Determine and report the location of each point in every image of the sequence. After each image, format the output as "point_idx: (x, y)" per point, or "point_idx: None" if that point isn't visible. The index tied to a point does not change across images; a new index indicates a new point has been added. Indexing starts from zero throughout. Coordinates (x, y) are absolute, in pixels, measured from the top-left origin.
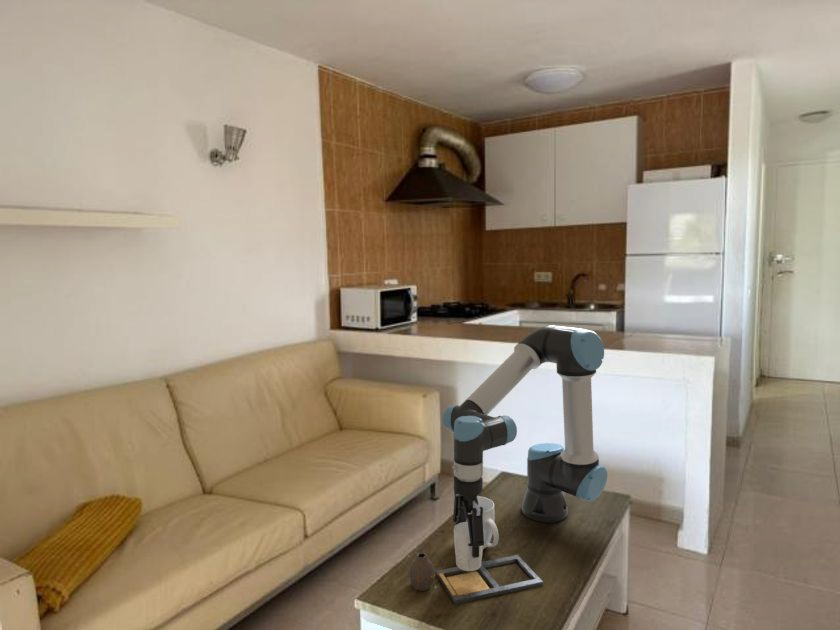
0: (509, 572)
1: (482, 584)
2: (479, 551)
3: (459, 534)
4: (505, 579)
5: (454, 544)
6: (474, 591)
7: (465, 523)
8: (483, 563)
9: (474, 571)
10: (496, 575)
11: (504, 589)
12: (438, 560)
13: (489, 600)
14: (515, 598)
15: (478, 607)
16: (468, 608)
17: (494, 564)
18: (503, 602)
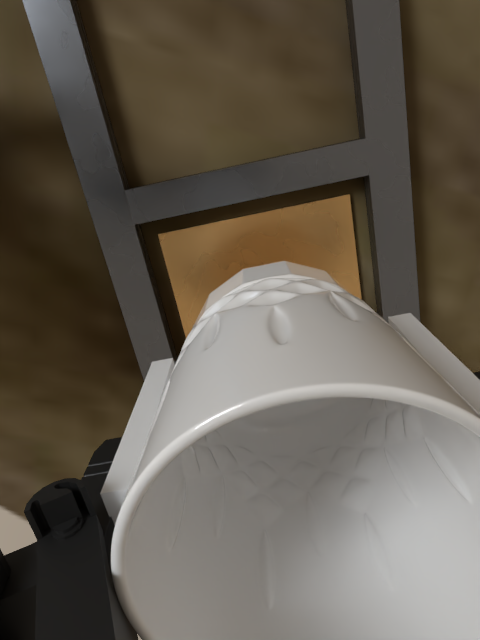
0: (181, 11)
1: (294, 230)
2: (468, 370)
3: None
4: (257, 67)
5: (275, 536)
6: (347, 286)
7: (133, 565)
8: (102, 182)
9: (162, 248)
10: (207, 117)
11: (401, 114)
12: (41, 409)
13: (434, 222)
14: (460, 58)
15: (471, 291)
16: (464, 338)
17: (102, 103)
18: (474, 147)
